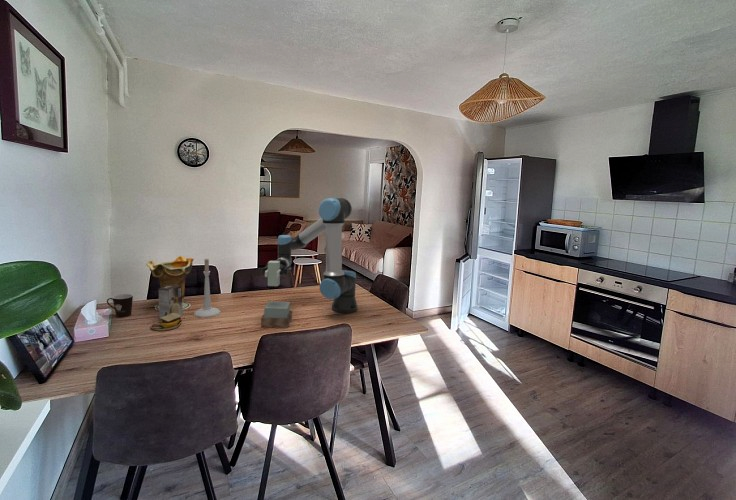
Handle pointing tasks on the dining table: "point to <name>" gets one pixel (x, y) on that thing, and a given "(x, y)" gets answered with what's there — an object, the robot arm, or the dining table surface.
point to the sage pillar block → (273, 273)
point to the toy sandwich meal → (167, 322)
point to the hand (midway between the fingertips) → (271, 274)
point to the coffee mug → (122, 304)
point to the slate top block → (277, 310)
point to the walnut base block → (276, 321)
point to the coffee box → (170, 300)
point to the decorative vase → (172, 274)
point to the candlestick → (207, 297)
